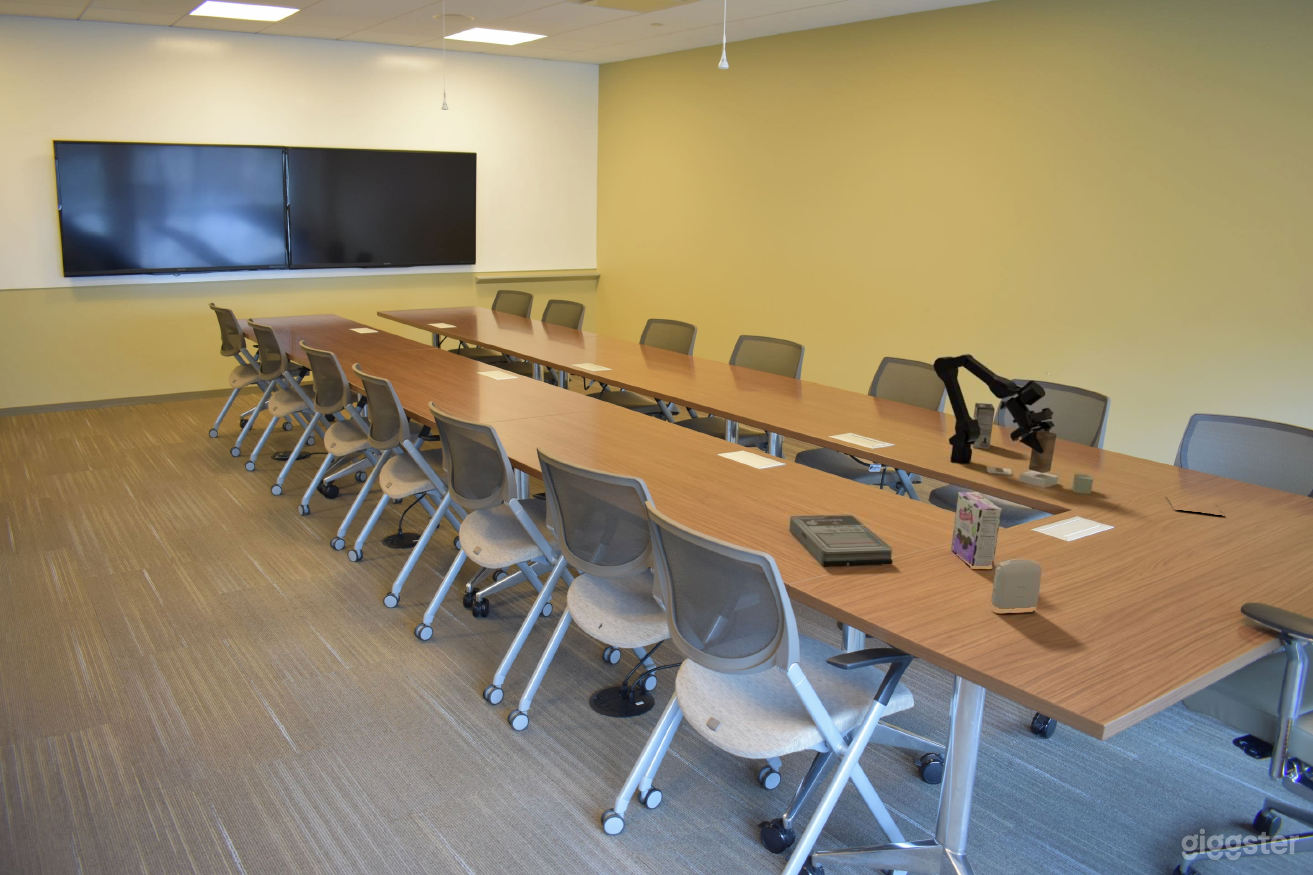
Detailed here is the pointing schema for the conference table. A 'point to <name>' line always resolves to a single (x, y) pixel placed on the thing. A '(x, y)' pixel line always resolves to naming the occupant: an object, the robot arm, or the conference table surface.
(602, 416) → the conference table surface
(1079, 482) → the sage cube
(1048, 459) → the walnut pillar
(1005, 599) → the photo printer
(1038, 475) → the grey base block
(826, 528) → the hard drive
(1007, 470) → the card
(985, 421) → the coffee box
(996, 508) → the candy box
